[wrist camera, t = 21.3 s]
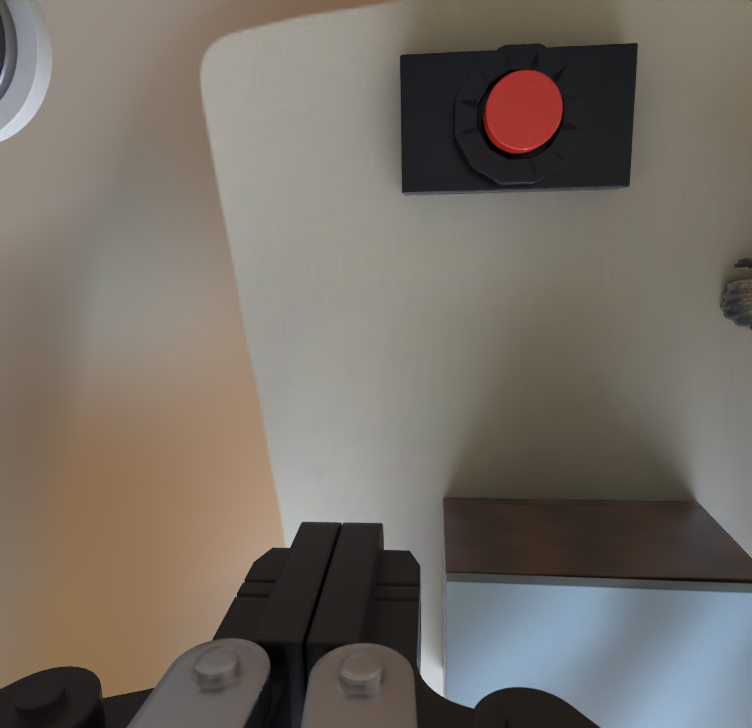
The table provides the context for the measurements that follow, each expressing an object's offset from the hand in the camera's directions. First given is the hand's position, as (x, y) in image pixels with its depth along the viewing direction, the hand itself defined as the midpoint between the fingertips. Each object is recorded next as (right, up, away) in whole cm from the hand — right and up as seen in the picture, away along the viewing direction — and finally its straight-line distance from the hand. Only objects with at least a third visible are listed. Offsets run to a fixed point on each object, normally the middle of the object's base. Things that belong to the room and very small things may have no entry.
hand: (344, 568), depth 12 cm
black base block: (+8, +17, +23) cm, 30 cm away
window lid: (+12, -13, +20) cm, 27 cm away
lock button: (+8, +16, +20) cm, 27 cm away
